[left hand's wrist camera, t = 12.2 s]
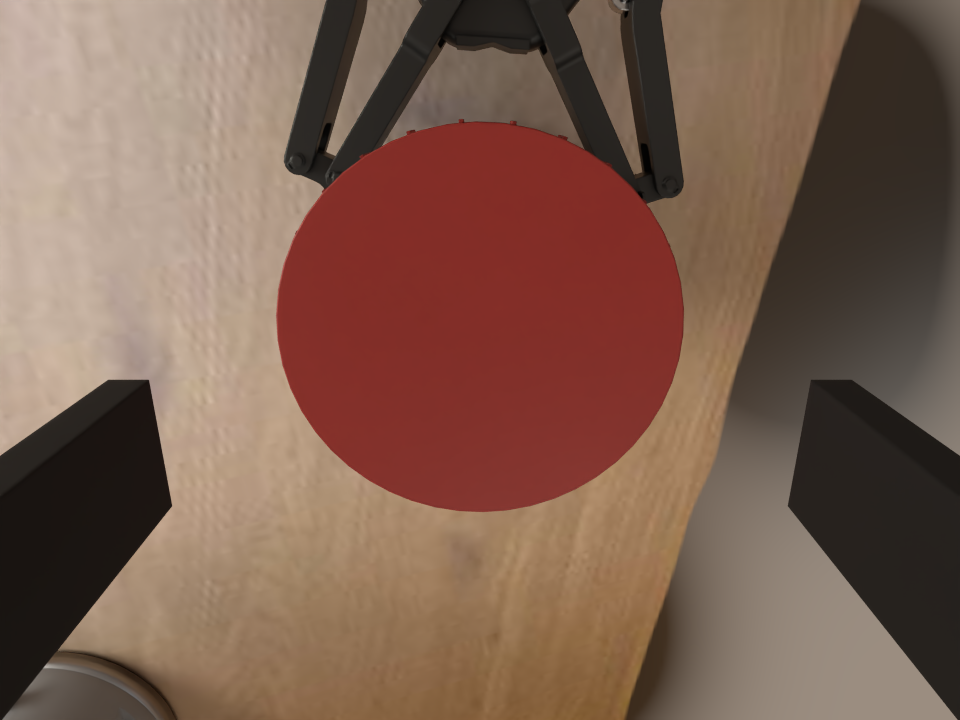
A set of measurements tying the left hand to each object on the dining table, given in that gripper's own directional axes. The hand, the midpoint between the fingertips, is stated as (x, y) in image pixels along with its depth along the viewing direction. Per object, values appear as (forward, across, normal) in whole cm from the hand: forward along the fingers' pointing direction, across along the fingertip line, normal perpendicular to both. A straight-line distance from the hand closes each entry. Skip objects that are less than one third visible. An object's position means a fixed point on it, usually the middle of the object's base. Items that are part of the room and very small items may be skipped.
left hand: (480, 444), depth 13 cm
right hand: (+20, 0, -4) cm, 21 cm away
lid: (+7, 0, 0) cm, 7 cm away
